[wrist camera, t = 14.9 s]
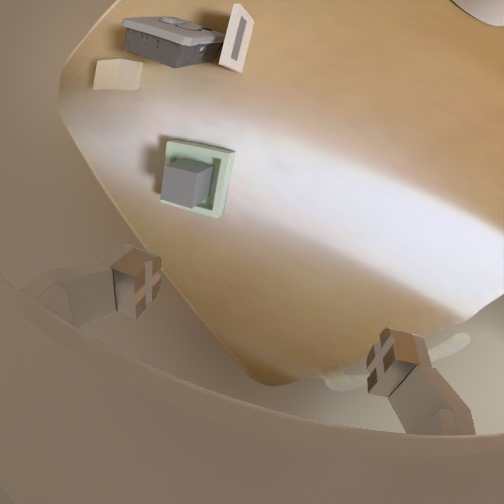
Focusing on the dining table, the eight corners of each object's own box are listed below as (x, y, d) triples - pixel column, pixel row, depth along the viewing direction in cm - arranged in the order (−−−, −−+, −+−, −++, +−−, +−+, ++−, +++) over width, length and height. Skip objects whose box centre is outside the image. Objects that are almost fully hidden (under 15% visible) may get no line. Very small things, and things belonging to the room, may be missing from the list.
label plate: (249, 20, 24) (233, 3, 19) (255, 21, 24) (240, 3, 19) (236, 72, 28) (218, 64, 23) (242, 73, 28) (225, 64, 23)
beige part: (121, 63, 30) (97, 60, 25) (143, 62, 29) (120, 58, 25) (116, 89, 32) (92, 89, 27) (138, 90, 31) (114, 89, 27)
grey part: (184, 158, 33) (164, 165, 29) (214, 165, 33) (197, 173, 28) (180, 188, 35) (160, 199, 31) (208, 196, 35) (191, 208, 30)
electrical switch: (234, 38, 26) (198, 22, 18) (215, 73, 29) (174, 70, 21) (173, 17, 26) (127, 4, 18) (157, 50, 29) (109, 46, 21)
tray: (175, 139, 33) (167, 141, 31) (235, 151, 32) (229, 153, 30) (168, 197, 37) (160, 202, 35) (223, 212, 36) (217, 218, 34)
